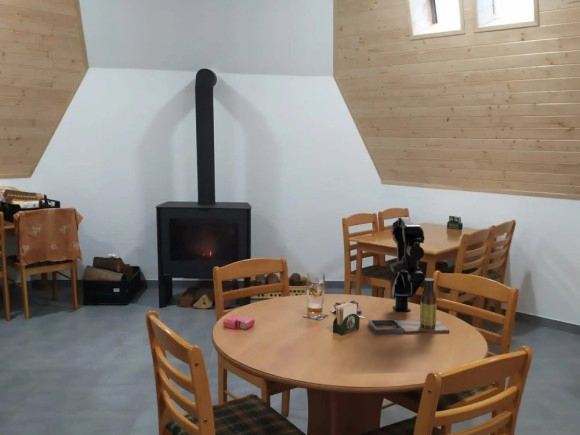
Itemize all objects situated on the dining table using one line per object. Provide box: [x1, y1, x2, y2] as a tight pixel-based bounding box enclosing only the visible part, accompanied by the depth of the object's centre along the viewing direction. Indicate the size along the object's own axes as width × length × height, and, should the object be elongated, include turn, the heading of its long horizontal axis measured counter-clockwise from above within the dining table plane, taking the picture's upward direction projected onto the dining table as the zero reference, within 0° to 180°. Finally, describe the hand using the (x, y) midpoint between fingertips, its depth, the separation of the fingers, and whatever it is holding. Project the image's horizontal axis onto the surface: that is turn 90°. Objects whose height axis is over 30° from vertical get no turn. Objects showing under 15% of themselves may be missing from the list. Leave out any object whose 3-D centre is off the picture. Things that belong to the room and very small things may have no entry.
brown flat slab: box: [395, 318, 450, 335], centre depth 207 cm, size 13×18×1 cm
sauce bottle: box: [419, 277, 438, 329], centre depth 204 cm, size 7×6×20 cm
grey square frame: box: [368, 318, 404, 335], centre depth 205 cm, size 11×11×2 cm
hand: (409, 291), depth 213 cm, fingers open, 9 cm apart
